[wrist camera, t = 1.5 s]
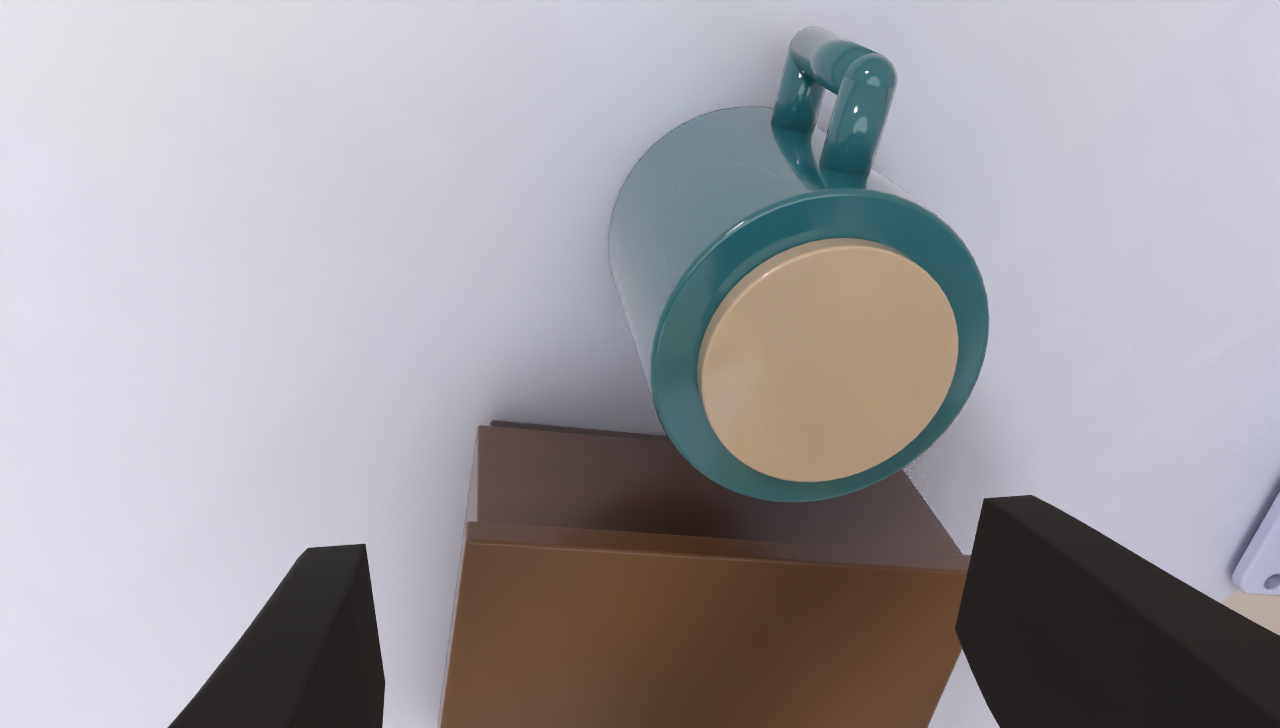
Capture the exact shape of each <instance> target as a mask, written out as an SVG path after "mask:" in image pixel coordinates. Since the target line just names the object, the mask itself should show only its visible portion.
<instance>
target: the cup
mask: <svg viewBox="0 0 1280 728" xmlns="http://www.w3.org/2000/svg"><path fill="white" fill-rule="evenodd" d="M896 86H897V72H896V69H895V67H894V65H893V64H892V62H891V61H890V60H889V59H888V58H886V57H885V56H883V55H881V54H878V53H876V52H874V51H872V50H869V49H867V48H865V47H862V46H860V45H858V44H856V43H853V42H851V41H849V40H847V39H844V38H842V37H840V36H838V35H835V34H833V33H831V32H829V31H826V30H824V29H822V28H819V27H807V28H804V29H802V30H801V31H799V32H798V33H797V34H796V35H795V36H794V37H793V39H792V41H791V43H790V46H789V50H788V54H787V58H786V62H785V66H784V70H783V74H782V78H781V82H780V86H779V90H778V94H777V98H776V102H775V106H774V109H772V108H762V107H735V108H729V109H724V110H718V111H715V112H712V113H708V114H705V115H702V116H699V117H697V118H695V119H693V120H691V121H689V122H686V123H684V124H682V125H681V126H679V127H678V128H676V129H674V130H673V131H671V132H670V133H668V134H667V135H666V136H664V137H663V138H662V139H661V140H659V141H658V142H657V143H656V144H655V145H653V146H652V147H651V149H650V150H649V151H648V152H647V153H646V154H645V155H644V156H643V157H642V158H641V159H640V161H639V162H638V163H637V165H636V166H635V167H634V169H633V170H632V171H631V173H630V174H629V176H628V178H627V180H626V181H625V183H624V185H623V187H622V189H621V191H620V194H619V196H618V199H617V201H616V204H615V207H614V210H613V214H612V218H611V223H610V231H609V259H610V265H611V271H612V274H613V278H614V281H615V284H616V287H617V290H618V294H619V297H620V300H621V303H622V306H623V309H624V312H625V315H626V318H627V322H628V325H629V328H630V331H631V334H632V337H633V340H634V343H635V346H636V349H637V353H638V356H639V359H640V362H641V365H642V368H643V371H644V374H645V377H646V381H647V384H648V387H649V390H650V393H651V396H652V399H653V402H654V405H655V409H656V412H657V415H658V418H659V420H660V422H661V424H662V426H663V428H664V430H665V433H666V435H667V436H668V438H669V439H670V441H671V442H672V444H673V445H674V447H675V448H676V449H677V451H678V452H679V453H680V454H681V455H682V456H683V457H684V458H685V459H686V461H687V462H688V463H689V464H690V465H691V466H693V467H694V468H695V469H696V470H698V471H699V472H700V473H702V474H703V475H704V476H705V477H707V478H709V479H710V480H712V481H714V482H716V483H717V484H719V485H721V486H723V487H724V488H727V489H729V490H732V491H734V492H737V493H739V494H742V495H745V496H749V497H753V498H757V499H760V500H768V501H775V502H797V503H800V502H811V501H821V500H826V499H831V498H836V497H840V496H844V495H847V494H850V493H853V492H856V491H860V490H862V489H864V488H867V487H869V486H871V485H874V484H876V483H878V482H880V481H882V480H884V479H886V478H888V477H889V476H891V475H893V474H895V473H897V472H898V471H900V470H901V469H903V468H904V467H906V466H907V465H908V464H910V463H911V462H913V461H914V460H916V459H917V458H918V457H919V456H920V455H921V454H923V453H924V452H925V451H926V450H927V449H928V448H930V447H931V446H932V445H933V444H934V443H935V442H936V441H937V440H938V438H939V437H940V436H941V435H942V434H943V433H944V432H945V431H946V430H947V429H948V427H949V426H950V425H951V423H952V422H953V421H954V420H955V418H956V417H957V416H958V414H959V413H960V411H961V409H962V408H963V406H964V404H965V403H966V401H967V400H968V398H969V396H970V394H971V392H972V390H973V388H974V385H975V383H976V381H977V379H978V376H979V373H980V370H981V367H982V364H983V361H984V358H985V352H986V347H987V341H988V330H989V312H988V302H987V295H986V291H985V287H984V283H983V279H982V276H981V273H980V271H979V269H978V266H977V264H976V262H975V259H974V257H973V256H972V254H971V253H970V251H969V249H968V248H967V246H966V245H965V243H964V242H963V240H962V239H961V238H960V237H959V236H958V235H957V234H956V233H955V231H954V230H953V229H952V228H951V227H950V226H949V225H948V224H946V223H945V222H944V221H943V220H942V219H940V218H939V217H938V216H937V215H935V214H934V213H933V212H932V211H930V210H929V209H928V208H926V207H925V206H924V205H922V204H921V203H919V202H918V201H917V200H915V199H914V198H913V197H911V196H910V195H909V194H907V193H906V192H905V191H903V190H902V189H901V188H899V187H898V186H897V185H895V184H894V183H893V182H891V181H890V180H889V179H887V178H886V177H885V176H883V175H882V174H880V173H879V172H878V171H876V170H875V169H874V168H872V166H873V163H874V160H875V156H876V153H877V150H878V146H879V143H880V140H881V136H882V133H883V130H884V126H885V123H886V120H887V116H888V113H889V110H890V106H891V103H892V100H893V96H894V93H895V90H896ZM825 89H828V90H830V91H831V92H833V93H835V94H836V95H837V98H836V102H835V106H834V109H833V113H832V117H831V120H830V124H829V127H828V131H827V133H825V132H824V131H823V130H821V129H820V128H819V127H817V126H816V122H817V119H818V115H819V111H820V107H821V104H822V100H823V96H824V93H825Z"/></svg>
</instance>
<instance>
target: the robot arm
mask: <svg viewBox="0 0 1280 728" xmlns="http://www.w3.org/2000/svg"><path fill="white" fill-rule="evenodd" d="M1232 582H1233V583H1234V584H1235V585H1236V586H1237V587H1238V588H1239V589H1240V590H1241V591H1242V592H1243V593H1247V594H1257V595H1274V596H1280V492H1279V493H1278V495H1277V497H1276V498H1275V500H1274V502H1273V504H1272V505H1271V507H1270V509H1269V511H1268V512H1267V514H1266V516H1265V518H1264V519H1263V521H1262V523H1261V525H1260V526H1259V528H1258V530H1257V531H1256V533H1255V535H1254V537H1253V538H1252V540H1251V542H1250V544H1249V545H1248V547H1247V549H1246V551H1245V552H1244V554H1243V556H1242V558H1241V559H1240V561H1239V563H1238V564H1237V566H1236V568H1235V570H1234V572H1233V575H1232ZM955 631H956V634H957V636H958V639H959V641H960V644H961V646H962V648H963V651H964V653H965V656H966V658H967V660H968V663H969V665H970V668H971V670H972V673H973V675H974V677H975V679H976V681H977V684H978V686H979V688H980V690H981V692H982V694H983V697H984V699H985V701H986V703H987V705H988V707H989V709H990V711H991V713H992V714H993V716H994V718H995V720H996V721H997V723H998V725H999V727H1000V728H1280V636H1279V635H1277V634H1275V633H1273V632H1271V631H1270V630H1268V629H1266V628H1264V627H1262V626H1260V625H1258V624H1256V623H1254V622H1253V621H1251V620H1249V619H1247V618H1246V617H1244V616H1242V615H1240V614H1238V613H1237V612H1235V611H1233V610H1231V609H1229V608H1228V607H1226V606H1224V605H1222V604H1221V603H1219V602H1217V601H1215V600H1214V599H1212V598H1210V597H1208V596H1207V595H1205V594H1203V593H1201V592H1200V591H1198V590H1196V589H1194V588H1193V587H1191V586H1189V585H1188V584H1186V583H1184V582H1182V581H1181V580H1179V579H1177V578H1176V577H1174V576H1172V575H1170V574H1169V573H1167V572H1165V571H1164V570H1162V569H1160V568H1159V567H1157V566H1155V565H1154V564H1152V563H1150V562H1148V561H1147V560H1145V559H1143V558H1142V557H1140V556H1138V555H1137V554H1135V553H1133V552H1132V551H1130V550H1128V549H1127V548H1125V547H1123V546H1122V545H1120V544H1118V543H1117V542H1115V541H1113V540H1112V539H1110V538H1108V537H1106V536H1105V535H1103V534H1101V533H1100V532H1098V531H1096V530H1095V529H1093V528H1091V527H1089V526H1088V525H1086V524H1084V523H1083V522H1081V521H1079V520H1077V519H1076V518H1074V517H1072V516H1070V515H1069V514H1067V513H1065V512H1063V511H1061V510H1060V509H1058V508H1056V507H1054V506H1052V505H1050V504H1048V503H1046V502H1045V501H1043V500H1041V499H1039V498H1037V497H1035V496H1032V495H1025V496H1011V497H998V498H984V500H983V505H982V509H981V514H980V518H979V523H978V527H977V532H976V536H975V541H974V545H973V550H972V554H971V558H970V563H969V567H968V572H967V576H966V581H965V585H964V590H963V594H962V599H961V603H960V608H959V612H958V617H957V621H956V626H955ZM384 692H385V678H384V671H383V664H382V657H381V650H380V643H379V636H378V629H377V622H376V615H375V608H374V601H373V594H372V587H371V580H370V573H369V566H368V559H367V552H366V545H365V544H356V545H342V546H329V547H315V548H307V549H306V550H305V551H304V552H303V553H302V554H301V555H300V556H299V557H298V559H297V560H296V562H295V563H294V565H293V566H292V568H291V569H290V570H289V572H288V573H287V575H286V576H285V578H284V579H283V580H282V582H281V583H280V585H279V586H278V588H277V589H276V590H275V592H274V593H273V595H272V596H271V597H270V599H269V600H268V602H267V603H266V604H265V606H264V607H263V608H262V610H261V611H260V613H259V614H258V615H257V617H256V618H255V619H254V621H253V622H252V623H251V625H250V626H249V627H248V629H247V630H246V631H245V633H244V634H243V636H242V637H241V638H240V639H239V641H238V642H237V643H236V645H235V646H234V647H233V648H232V650H231V651H230V652H229V654H228V655H227V656H226V657H225V659H224V660H223V661H222V662H221V664H220V665H219V666H218V667H217V669H216V670H215V671H214V673H213V674H212V675H211V676H210V678H209V679H208V680H207V681H206V683H205V684H204V685H203V687H202V688H201V689H200V690H199V692H198V693H197V694H196V695H195V696H194V698H193V699H192V700H191V701H190V703H189V704H188V705H187V706H186V707H185V708H184V710H183V711H182V712H181V713H180V714H179V715H178V717H177V718H176V719H175V720H174V721H173V722H172V723H171V725H170V726H169V727H168V728H382V723H383V708H384Z"/></svg>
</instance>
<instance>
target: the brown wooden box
mask: <svg viewBox="0 0 1280 728" xmlns="http://www.w3.org/2000/svg"><path fill="white" fill-rule="evenodd" d="M970 558H971V555H963V554H962V553H961V551H960V550H959V548H958V547H957V545H956V544H955V543H954V541H953V540H952V538H951V537H950V536H949V534H948V533H947V531H946V530H945V529H944V527H943V526H942V524H941V523H940V521H939V520H938V519H937V517H936V516H935V514H934V513H933V512H932V510H931V509H930V507H929V506H928V505H927V503H926V502H925V500H924V499H923V497H922V496H921V495H920V493H919V492H918V490H917V489H916V488H915V486H914V485H913V483H912V482H911V480H910V479H909V478H908V476H907V475H906V473H905V472H904V471H903V469H901V470H900V471H898V472H897V473H895V474H893V475H891V476H889V477H888V478H886V479H884V480H882V481H880V482H878V483H876V484H874V485H871V486H869V487H867V488H864V489H862V490H860V491H856V492H853V493H850V494H847V495H844V496H840V497H836V498H831V499H826V500H821V501H811V502H800V503H797V502H775V501H768V500H760V499H757V498H753V497H749V496H745V495H742V494H739V493H737V492H734V491H732V490H729V489H727V488H724V487H723V486H721V485H719V484H717V483H716V482H714V481H712V480H710V479H709V478H707V477H705V476H704V475H703V474H702V473H700V472H699V471H698V470H696V469H695V468H694V467H693V466H691V465H690V464H689V463H688V462H687V461H686V459H685V458H684V457H683V456H682V455H681V454H680V453H679V452H678V451H677V449H676V448H675V447H674V445H673V444H672V442H671V441H670V439H669V438H668V436H658V435H647V434H636V433H625V432H614V431H604V430H593V429H582V428H571V427H560V426H549V425H538V424H527V423H516V422H505V421H492V422H491V423H490V426H481V425H480V426H478V429H477V437H476V444H475V451H474V459H473V466H472V474H471V481H470V488H469V496H468V503H467V511H466V518H465V526H464V533H463V540H462V548H461V555H460V563H459V570H458V577H457V585H456V592H455V600H454V607H453V614H452V622H451V629H450V637H449V644H448V652H447V659H446V666H445V674H444V681H443V689H442V696H441V703H440V711H439V718H438V726H437V728H927V727H928V725H929V723H930V720H931V718H932V716H933V714H934V711H935V709H936V707H937V704H938V702H939V700H940V698H941V695H942V693H943V691H944V689H945V686H946V684H947V682H948V680H949V677H950V675H951V673H952V670H953V668H954V666H955V664H956V661H957V659H958V657H959V655H960V652H961V650H962V646H961V644H960V641H959V639H958V636H957V634H956V631H955V626H956V621H957V617H958V612H959V608H960V603H961V599H962V594H963V590H964V585H965V581H966V576H967V572H968V567H969V563H970Z"/></svg>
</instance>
